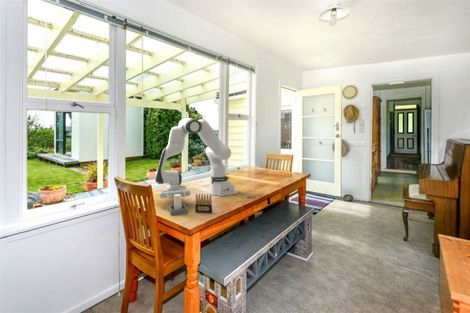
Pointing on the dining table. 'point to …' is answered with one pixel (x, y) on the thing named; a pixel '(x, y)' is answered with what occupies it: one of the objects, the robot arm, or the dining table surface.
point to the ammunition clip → (203, 204)
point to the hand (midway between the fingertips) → (176, 196)
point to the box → (178, 210)
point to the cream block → (177, 201)
